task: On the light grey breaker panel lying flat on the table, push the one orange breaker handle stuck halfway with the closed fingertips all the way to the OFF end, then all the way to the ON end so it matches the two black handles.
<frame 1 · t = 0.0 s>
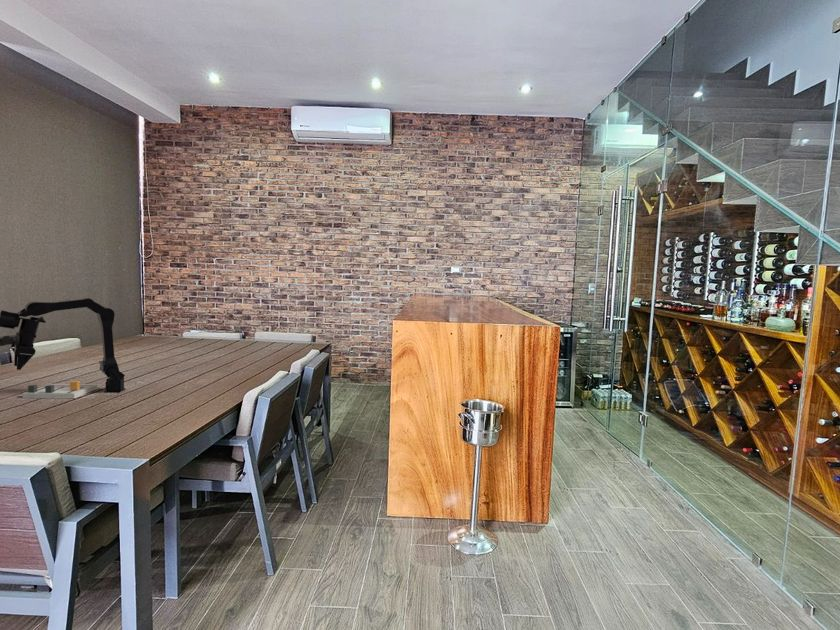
hand: (17, 367, 190), 15 cm above the table, tool pointing down, fingers open, 9 cm apart
breaker panel: (61, 393, 209), on the table
tripped breaker: (75, 385, 207), point 4 cm above the table, slide at 0.0 cm
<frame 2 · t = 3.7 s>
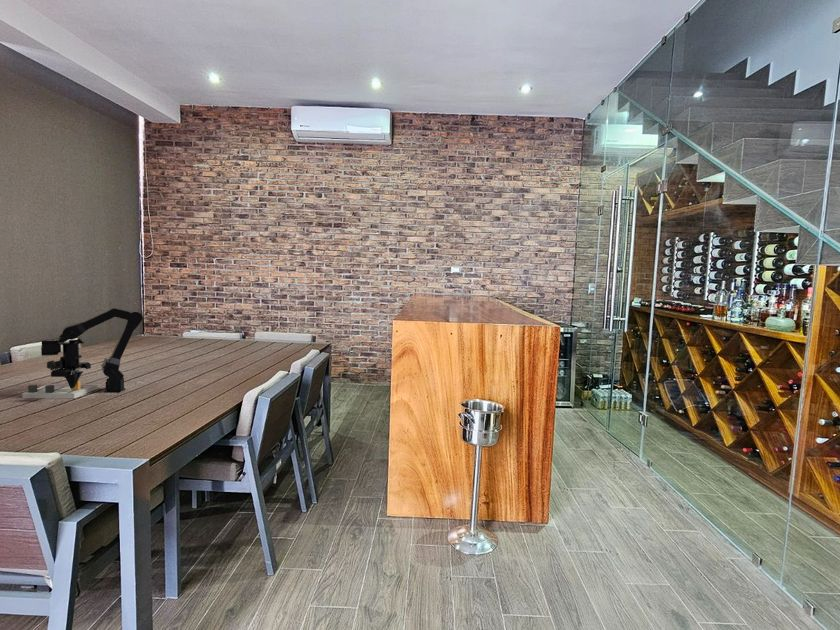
hand: (72, 388, 205), 3 cm above the table, tool pointing down, fingers closed
tripped breaker: (75, 385, 208), point 4 cm above the table, slide at -0.5 cm, touching gripper
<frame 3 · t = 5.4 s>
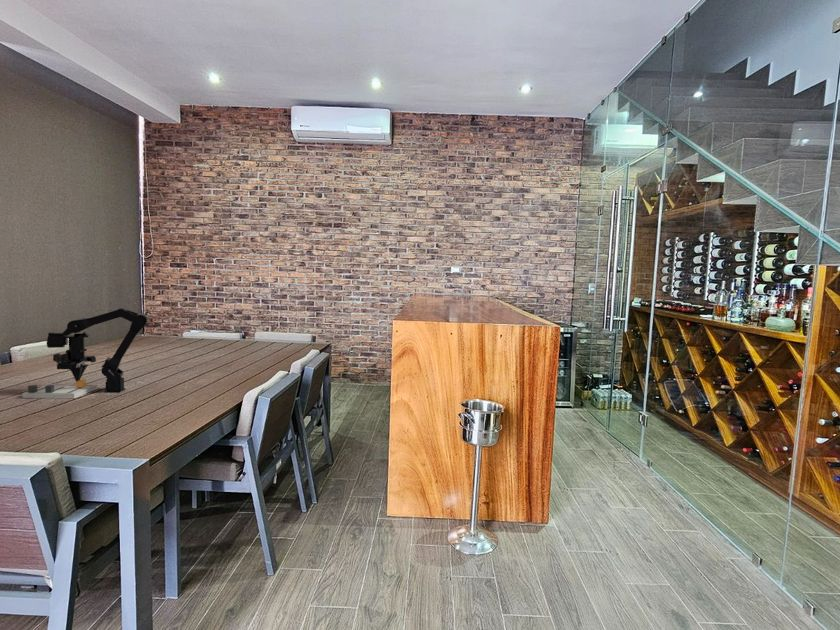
hand: (77, 380, 209), 6 cm above the table, tool pointing down, fingers closed
tripped breaker: (80, 383, 211), point 4 cm above the table, slide at -4.1 cm
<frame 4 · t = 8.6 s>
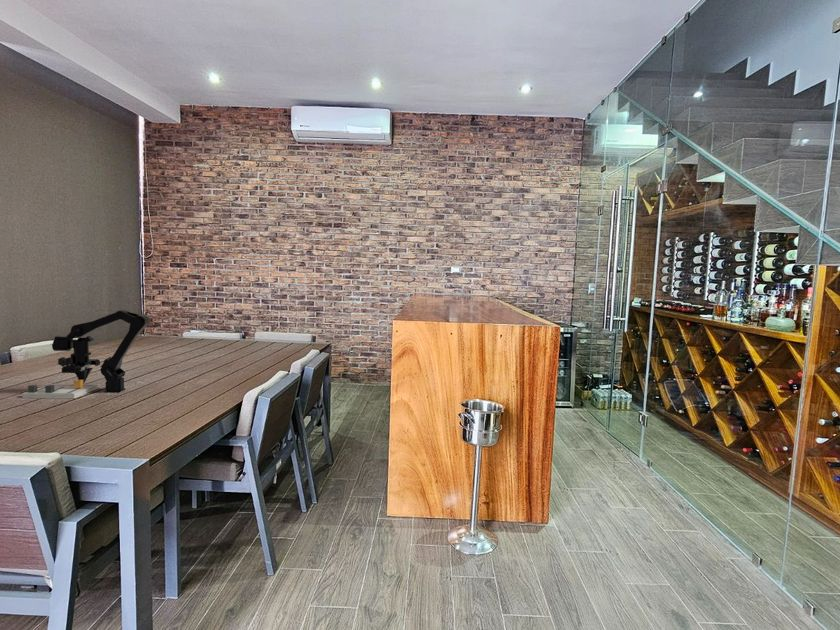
hand: (82, 384, 212), 4 cm above the table, tool pointing down, fingers closed
tripped breaker: (78, 383, 210), point 4 cm above the table, slide at -2.5 cm, touching gripper
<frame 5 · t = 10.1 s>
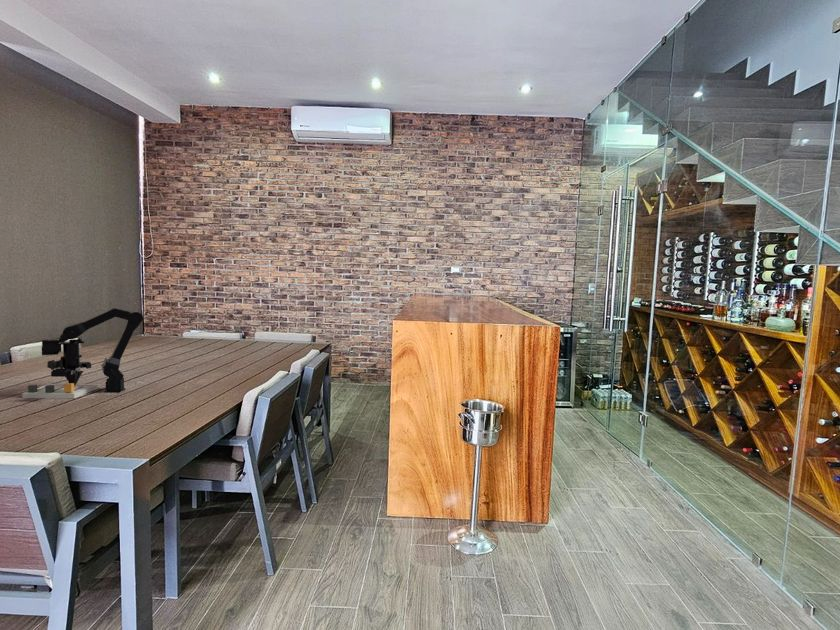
hand: (72, 387, 206), 4 cm above the table, tool pointing down, fingers closed
tripped breaker: (69, 387, 203), point 4 cm above the table, slide at 4.1 cm, touching gripper
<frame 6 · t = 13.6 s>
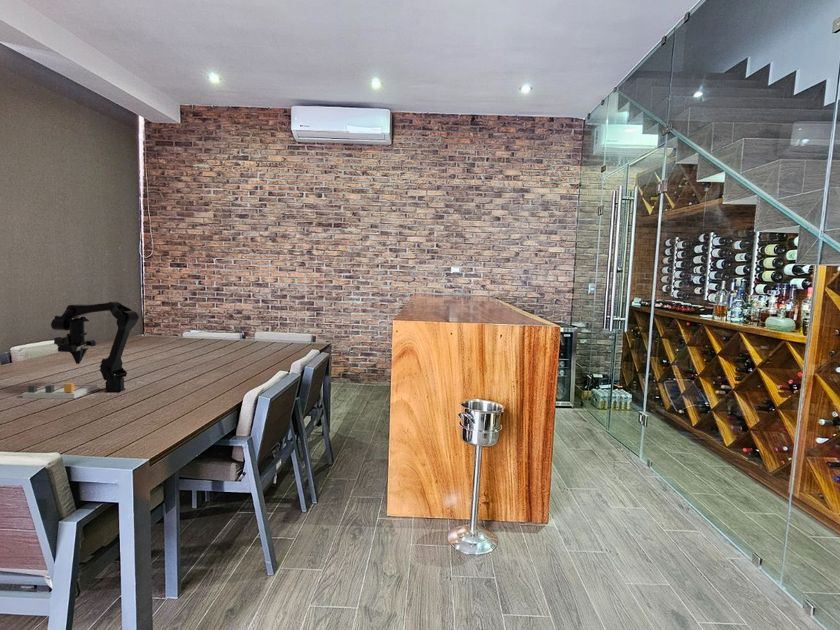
hand: (77, 363, 216), 12 cm above the table, tool pointing down, fingers closed
tripped breaker: (69, 387, 203), point 4 cm above the table, slide at 4.1 cm
at the end: tripped breaker slide at 4.1 cm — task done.
